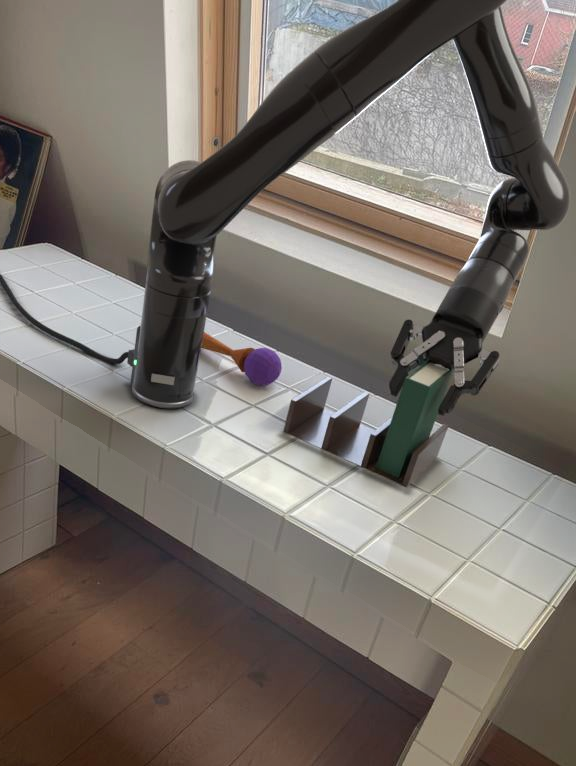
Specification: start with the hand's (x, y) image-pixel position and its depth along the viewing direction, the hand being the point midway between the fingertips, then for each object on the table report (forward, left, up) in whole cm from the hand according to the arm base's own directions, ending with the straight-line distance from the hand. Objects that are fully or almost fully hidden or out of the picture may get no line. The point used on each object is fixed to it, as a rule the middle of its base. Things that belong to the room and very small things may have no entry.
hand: (416, 402), depth 111 cm
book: (-1, +2, -10) cm, 10 cm away
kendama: (-36, -3, -11) cm, 37 cm away
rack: (-6, -1, -11) cm, 13 cm away
